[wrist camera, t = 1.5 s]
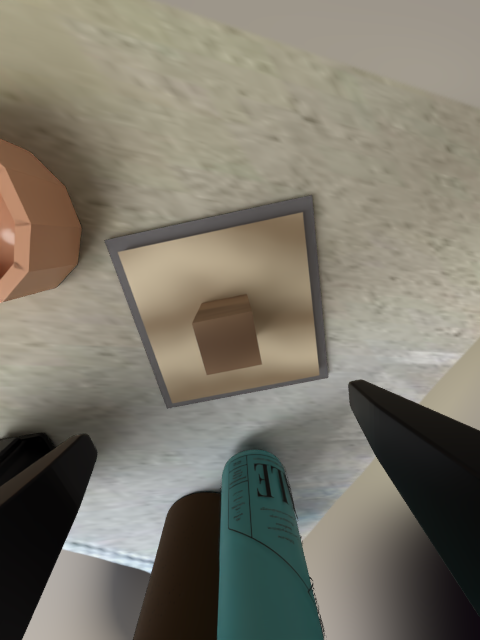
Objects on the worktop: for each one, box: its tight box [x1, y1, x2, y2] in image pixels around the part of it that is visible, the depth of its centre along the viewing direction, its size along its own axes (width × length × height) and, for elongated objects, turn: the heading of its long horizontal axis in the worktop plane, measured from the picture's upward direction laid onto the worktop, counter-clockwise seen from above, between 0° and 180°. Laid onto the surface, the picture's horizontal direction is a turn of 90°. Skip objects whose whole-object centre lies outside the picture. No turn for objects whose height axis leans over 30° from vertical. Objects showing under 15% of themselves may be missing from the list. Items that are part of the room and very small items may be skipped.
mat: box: [104, 195, 328, 408], centre depth 19 cm, size 15×15×1 cm
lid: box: [118, 212, 319, 403], centre depth 16 cm, size 13×13×5 cm
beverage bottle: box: [217, 450, 324, 640], centre depth 15 cm, size 6×7×20 cm
